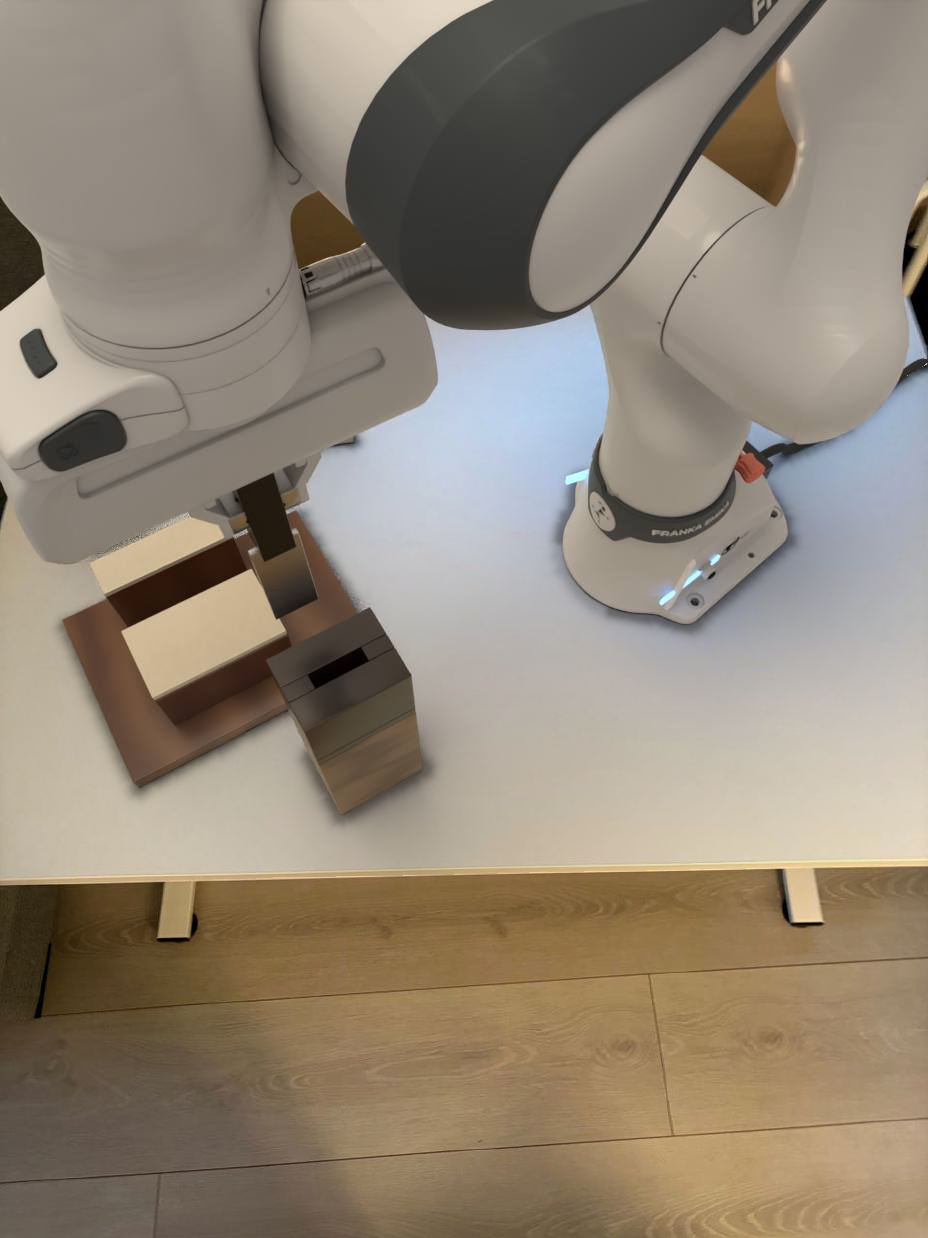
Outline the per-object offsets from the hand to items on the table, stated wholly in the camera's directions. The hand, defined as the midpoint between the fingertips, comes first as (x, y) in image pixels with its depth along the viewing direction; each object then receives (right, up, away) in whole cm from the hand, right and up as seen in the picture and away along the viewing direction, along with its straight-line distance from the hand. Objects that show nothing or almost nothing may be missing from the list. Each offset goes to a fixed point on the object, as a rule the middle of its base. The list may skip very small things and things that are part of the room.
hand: (261, 510), depth 48 cm
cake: (-11, -10, +35) cm, 38 cm away
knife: (0, -5, +10) cm, 11 cm away
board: (-12, -8, +37) cm, 40 cm away
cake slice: (-16, -2, +38) cm, 41 cm away
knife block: (+2, -18, +32) cm, 37 cm away
